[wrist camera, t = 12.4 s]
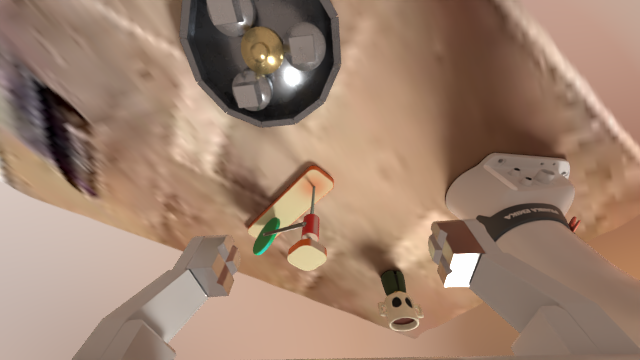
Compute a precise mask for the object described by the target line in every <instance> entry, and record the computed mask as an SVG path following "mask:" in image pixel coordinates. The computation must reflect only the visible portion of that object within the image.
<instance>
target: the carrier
mask: <svg viewBox="0 0 640 360" xmlns="http://www.w3.org/2000/svg"><path fill="white" fill-rule="evenodd" d="M337 15H338V14H337V12H336V11H335V9H334V7H333V5H332V4H331V2H330V0H182V11H181V23H180V35H179V37H181V38H182V39H180V41H181V43H182V46H183V49H184V51H185V54H186V57H187V59H188V62H189V64H190V67H191V70H192V72H193V75H194V78H195V80H196V82H198V81H199V82H198V83H197V84H198V85H199V86H200V87H201V88H202V89H203V90H204V91H205V92H206V93H207V94H208V95H209V96H210V97H211V98H212V99H213V100H214V101H215V102H216V104H217V105H218V106H219V107H220V108H221V109H222V110H223V111H224V112H225V113H226V112H227V114H228V115H231V116H233V117H236V118H238V119H241V120H243V121H246V122H248V123H251V124H253V125H256V126H258V127H261V126H262V128H263V127H273V126H283V125H293V124H295V123H296V124H297V123H298V122H299V121H301V120H302V119H303V118H305V117H306V116H307V115H309V114H310V113H312V112H313V111H314V110H316V109H317V108H318V107H320V106H321V105H322V104H324V102H325V101H326V98H327V96H328V94H329V92H330V89H331V87H332V85H333V83H334V80H335V78H336V76H337V74H338V71H339V69H340V67H341V65H340V64H341V53H340V36H339V19H338V17H336V16H337ZM300 22H308V23H312V24H314V25H315V26H317V27H318V28H319V29H320V30H321V32H322V33H323V35H324V38H325V42H326V51H325V56H324V58H323V60H322V62H321V63H320V65H319V66H317V67H316V68H315V69H313V70H310V71H300V70H297V69H295V68H294V67H293V66H291V65H290V64H289V62H288V61H287V59H286V57H285V55H284V51H283V40H284V37H285V34H286V32H287V31H288V29H289V28H290V27H291V26H293V25H294V24H296V23H300Z"/></svg>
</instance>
